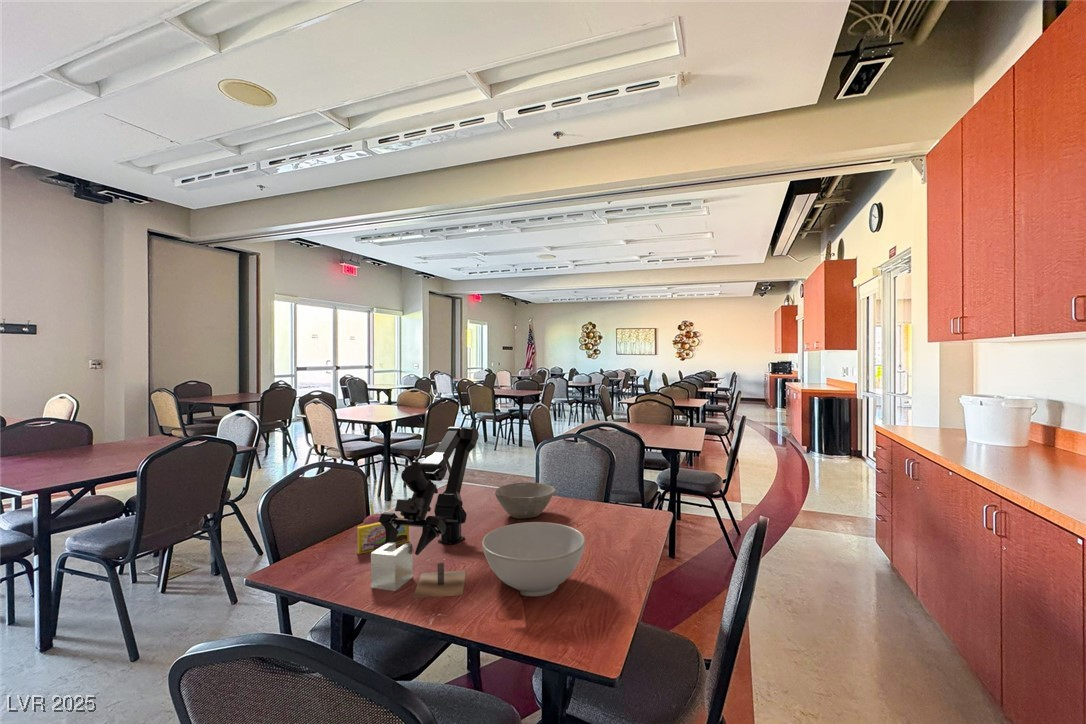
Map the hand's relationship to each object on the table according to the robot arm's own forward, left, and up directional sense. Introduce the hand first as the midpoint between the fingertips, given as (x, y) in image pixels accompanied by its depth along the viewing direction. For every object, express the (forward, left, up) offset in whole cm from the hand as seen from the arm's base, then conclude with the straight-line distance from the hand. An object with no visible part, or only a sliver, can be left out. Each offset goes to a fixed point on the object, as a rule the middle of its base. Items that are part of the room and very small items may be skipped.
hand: (401, 553), depth 128 cm
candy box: (-15, -22, -7) cm, 28 cm away
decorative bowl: (-13, +34, -7) cm, 37 cm away
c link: (+4, +1, -7) cm, 8 cm away
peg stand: (-1, +13, -7) cm, 15 cm away
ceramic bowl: (-62, +3, -7) cm, 62 cm away
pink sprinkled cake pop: (-22, -33, -7) cm, 40 cm away
